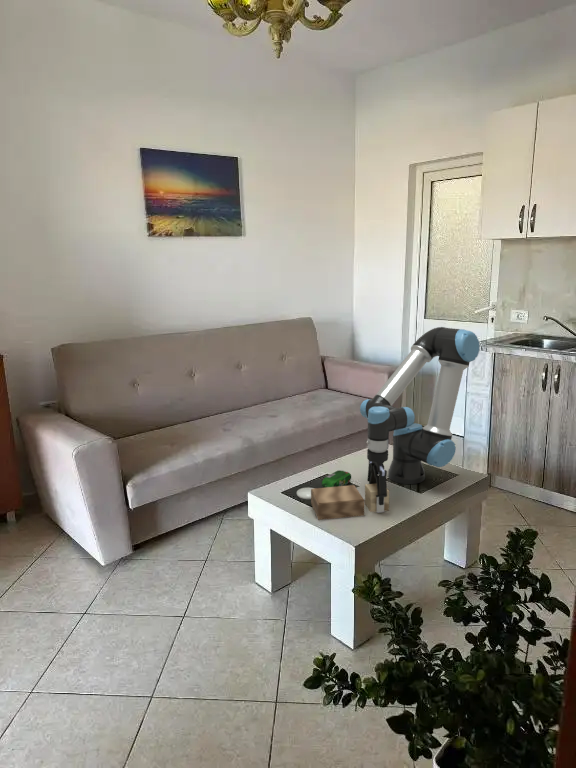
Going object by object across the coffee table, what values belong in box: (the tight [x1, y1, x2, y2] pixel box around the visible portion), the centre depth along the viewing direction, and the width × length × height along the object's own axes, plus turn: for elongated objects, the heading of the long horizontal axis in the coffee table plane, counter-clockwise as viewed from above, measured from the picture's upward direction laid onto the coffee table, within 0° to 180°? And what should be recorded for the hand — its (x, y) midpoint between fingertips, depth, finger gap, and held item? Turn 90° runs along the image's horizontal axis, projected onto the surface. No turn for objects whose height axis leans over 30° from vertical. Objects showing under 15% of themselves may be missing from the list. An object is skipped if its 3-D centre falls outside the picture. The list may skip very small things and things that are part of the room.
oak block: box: [364, 483, 390, 513], centre depth 197 cm, size 7×7×8 cm
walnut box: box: [310, 484, 365, 521], centre depth 196 cm, size 17×13×6 cm
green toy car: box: [321, 469, 352, 488], centre depth 216 cm, size 7×16×5 cm, turn 141°
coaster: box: [296, 487, 315, 500], centre depth 210 cm, size 9×9×1 cm
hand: (376, 506), depth 198 cm, fingers open, 8 cm apart
